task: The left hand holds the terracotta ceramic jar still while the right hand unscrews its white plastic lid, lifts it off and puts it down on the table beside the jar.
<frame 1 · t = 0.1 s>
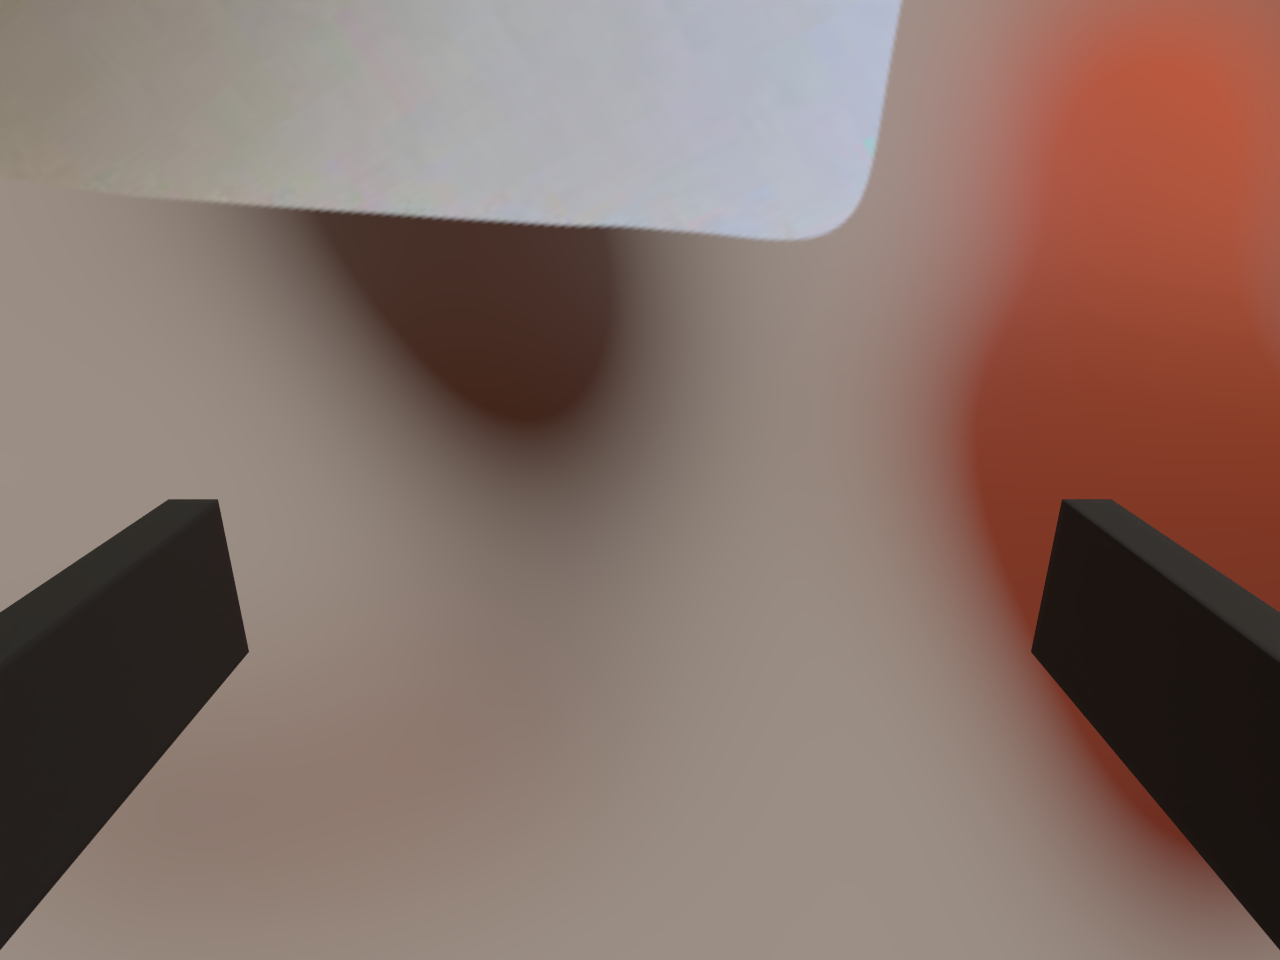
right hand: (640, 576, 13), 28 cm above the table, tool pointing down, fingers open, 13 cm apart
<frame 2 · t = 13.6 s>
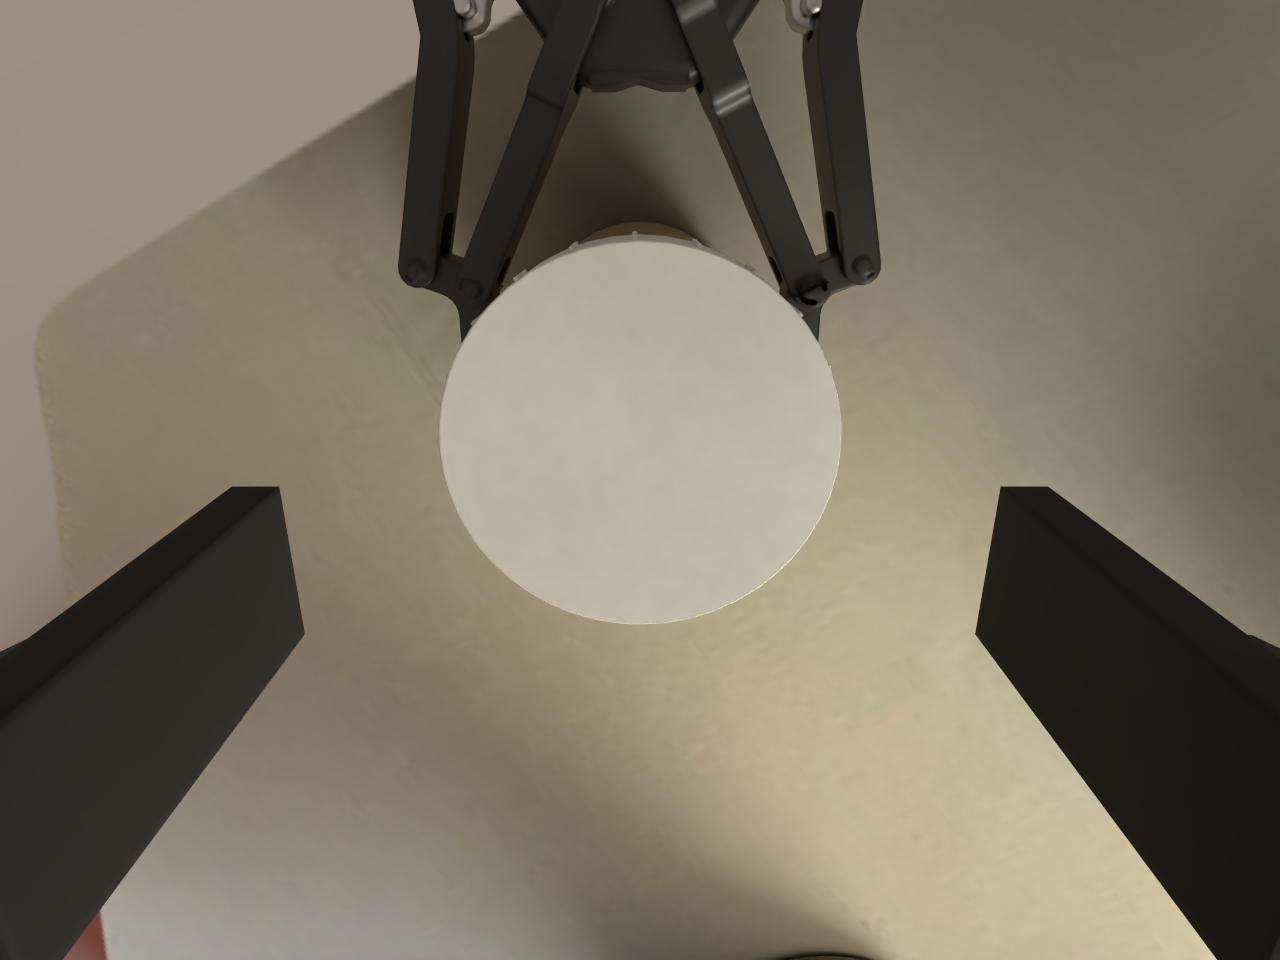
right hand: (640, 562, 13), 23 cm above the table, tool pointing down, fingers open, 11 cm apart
jar: (640, 324, 35), on the table, touching left hand
lid: (640, 445, 19), point 17 cm above the table, screwed on, not yet turned
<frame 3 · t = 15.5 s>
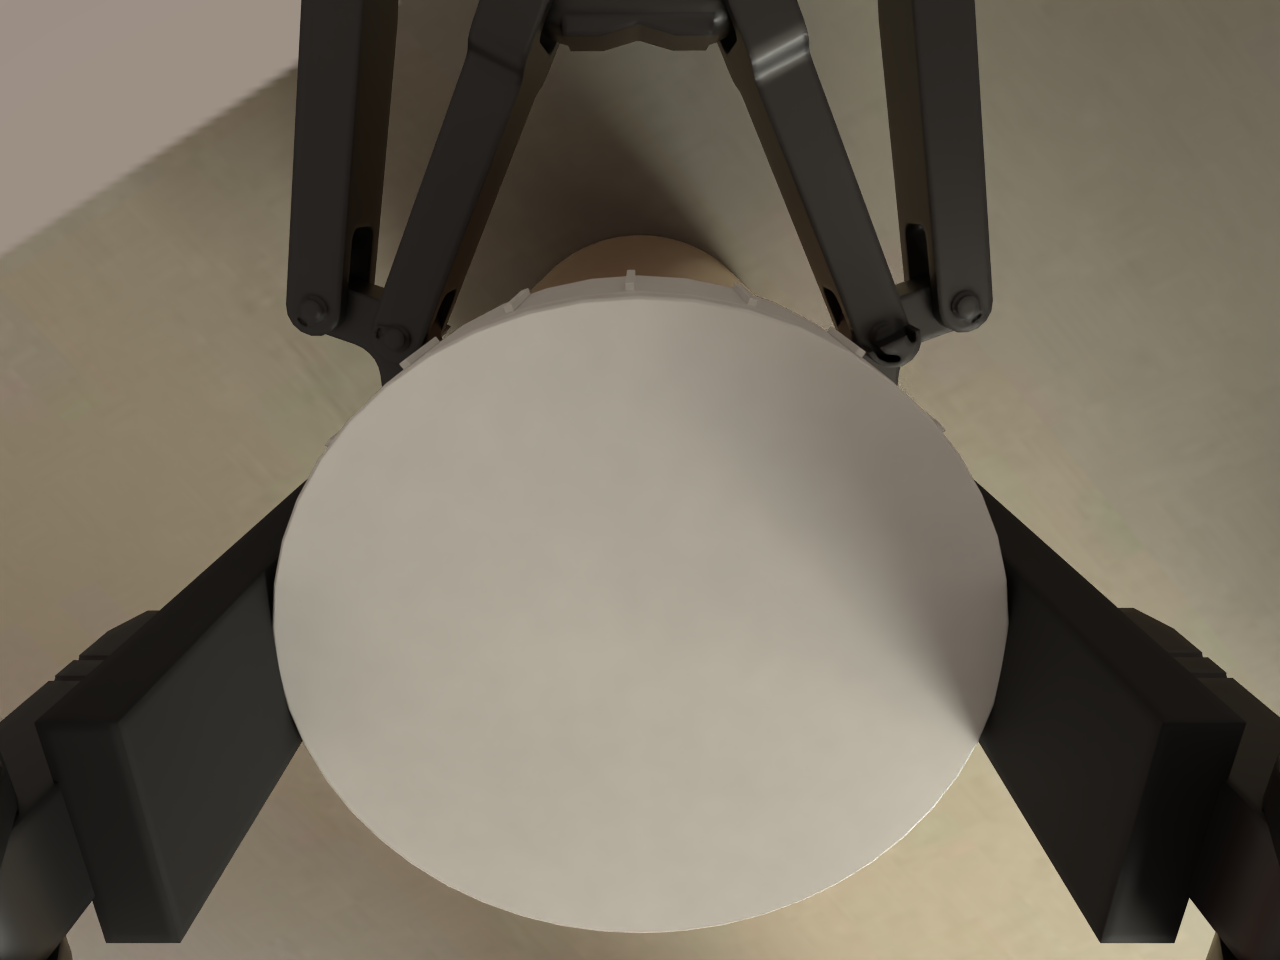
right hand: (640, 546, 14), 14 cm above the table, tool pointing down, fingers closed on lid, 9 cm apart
left hand: (641, 587, 22), fingers closed on jar, 9 cm apart
jar: (640, 369, 26), on the table, touching left hand
lid: (640, 652, 11), point 17 cm above the table, screwed on, not yet turned, touching right hand
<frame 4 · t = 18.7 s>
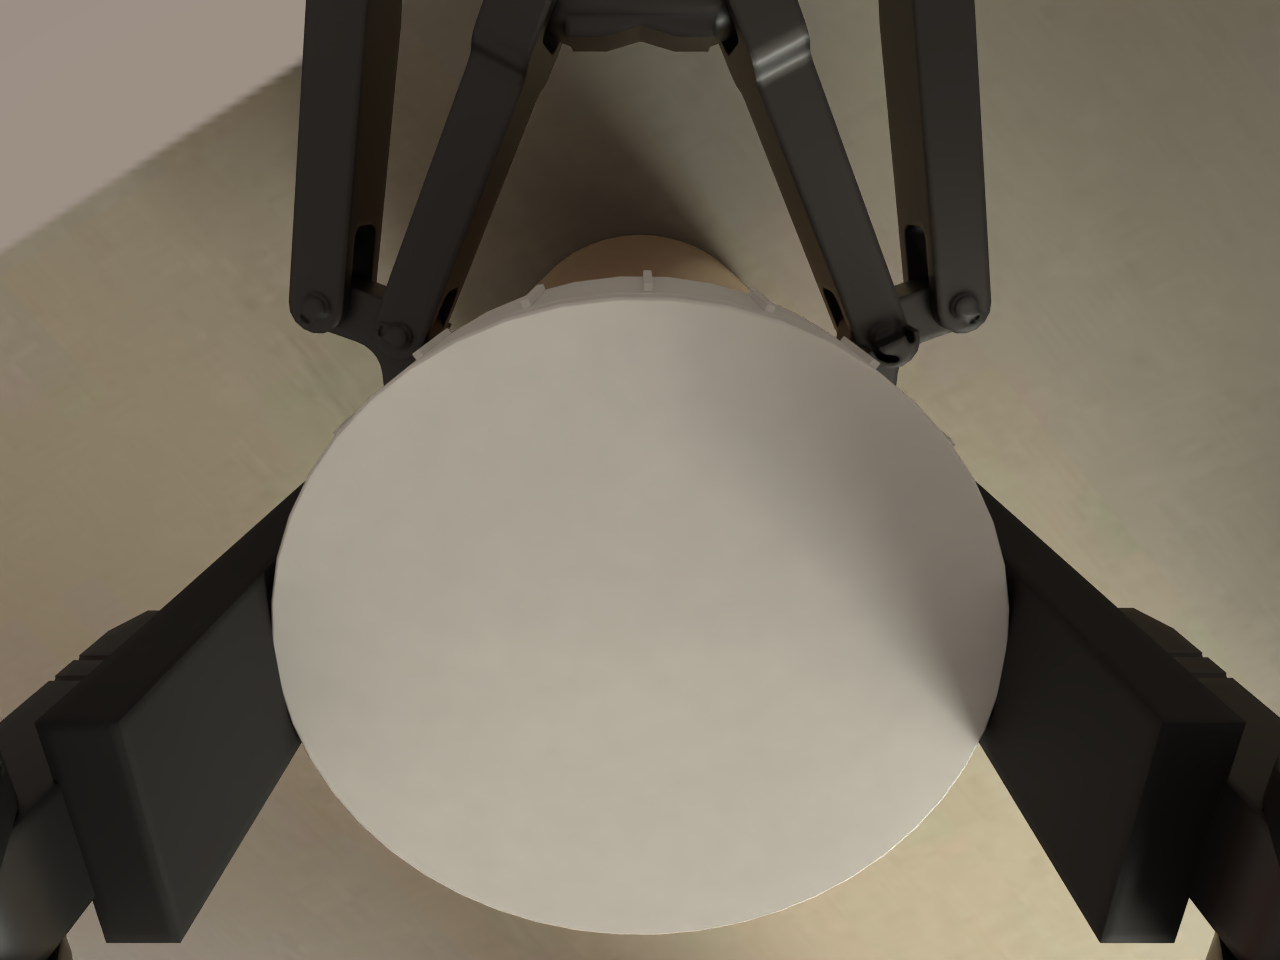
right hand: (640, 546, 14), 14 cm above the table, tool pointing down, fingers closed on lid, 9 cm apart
left hand: (640, 585, 22), fingers closed on jar, 9 cm apart
jar: (640, 368, 27), on the table, touching left hand
lid: (640, 653, 10), point 17 cm above the table, turned 101° so far, risen 0.1 cm, still on its thread, touching right hand
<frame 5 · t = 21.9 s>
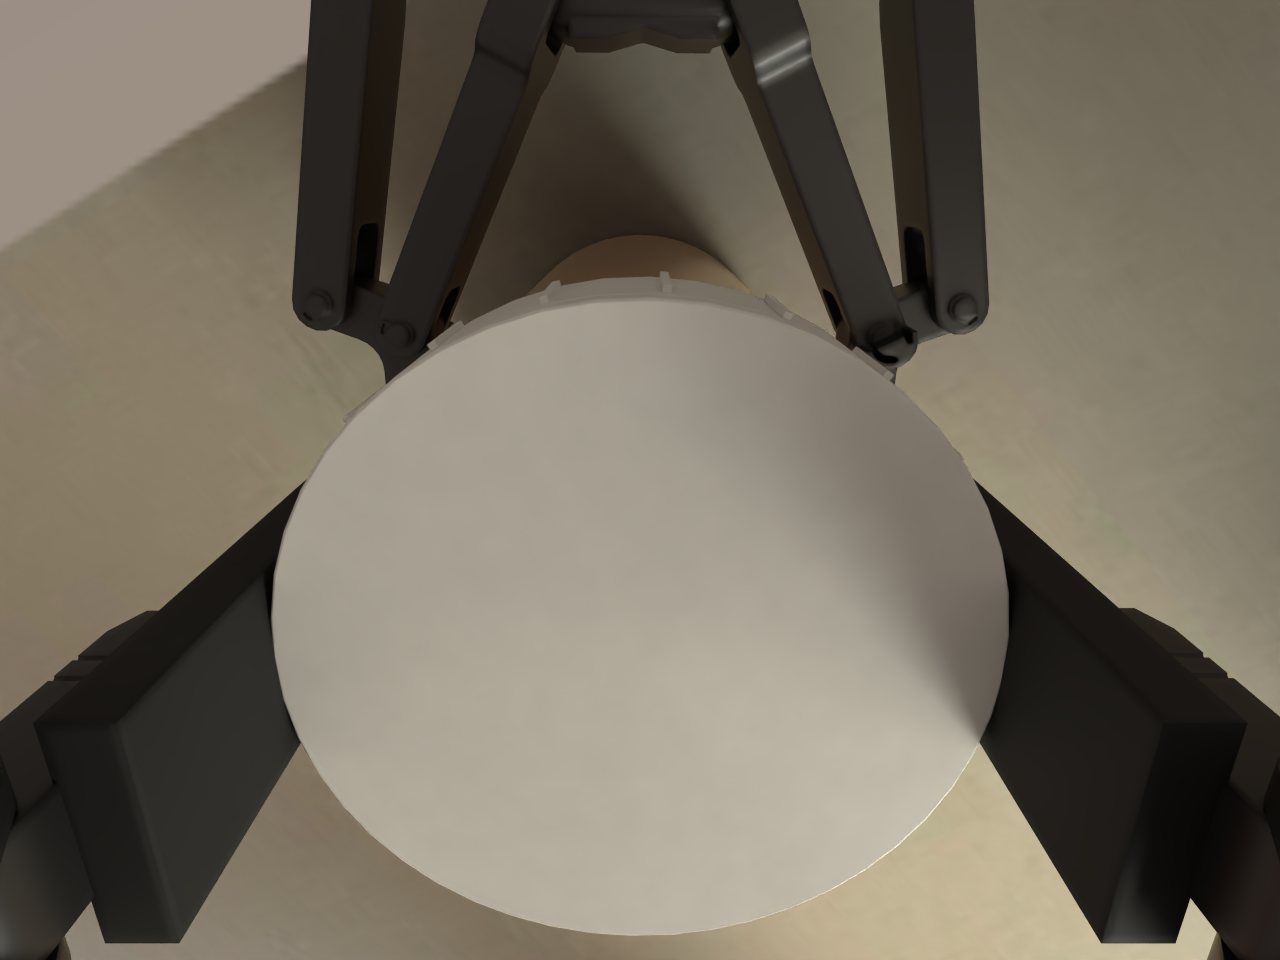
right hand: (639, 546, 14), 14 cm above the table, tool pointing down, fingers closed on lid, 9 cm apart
left hand: (639, 583, 22), fingers closed on jar, 9 cm apart
jar: (640, 368, 27), on the table, touching left hand
lid: (640, 654, 10), point 17 cm above the table, turned 201° so far, risen 0.3 cm, still on its thread, touching right hand
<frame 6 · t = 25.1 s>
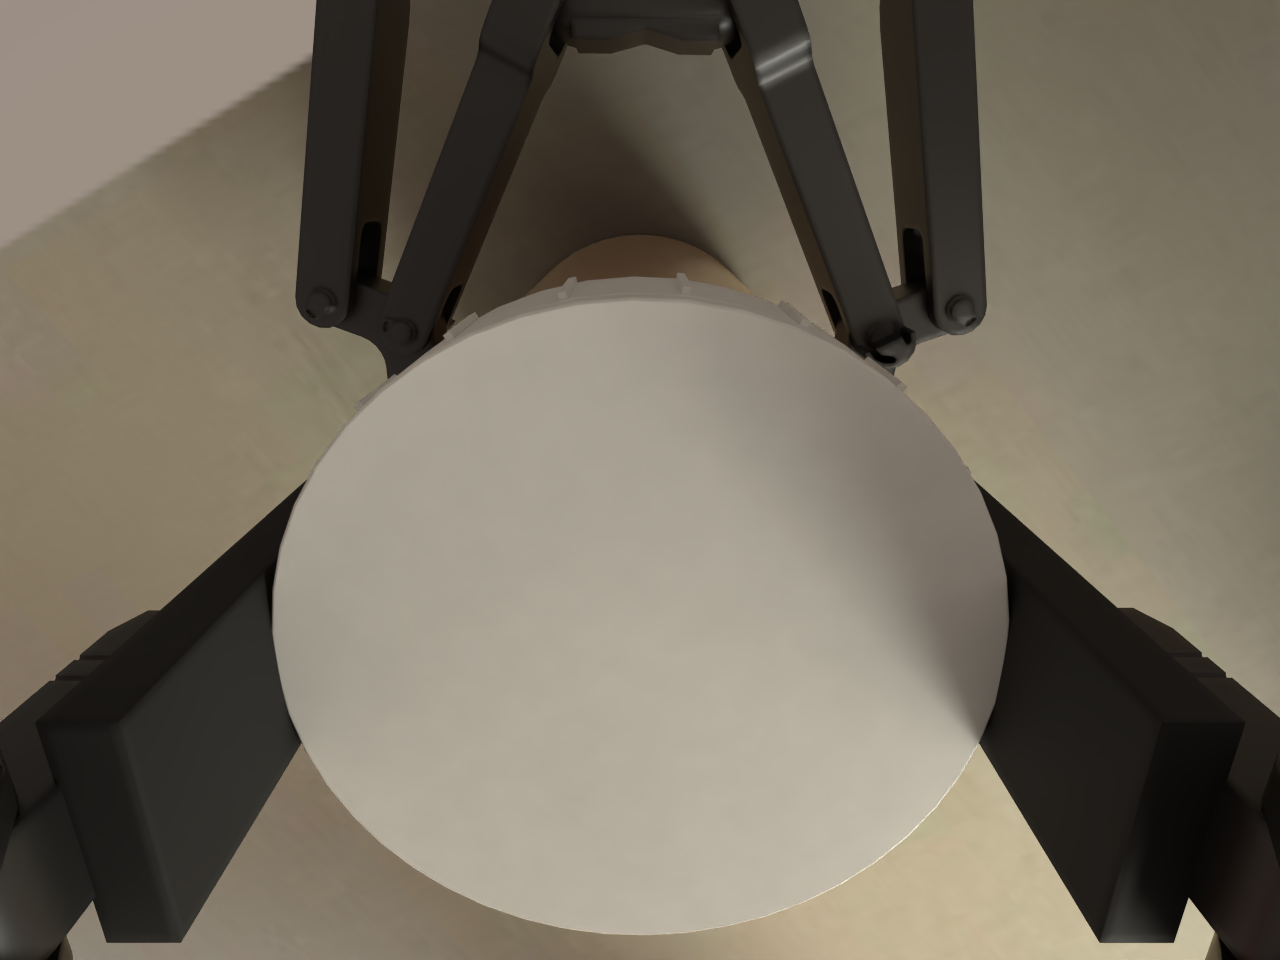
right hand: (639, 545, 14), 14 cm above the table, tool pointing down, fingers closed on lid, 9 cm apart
left hand: (638, 581, 22), fingers closed on jar, 9 cm apart
jar: (640, 367, 27), on the table, touching left hand
lid: (640, 653, 10), point 17 cm above the table, turned 302° so far, risen 0.4 cm, still on its thread, touching right hand
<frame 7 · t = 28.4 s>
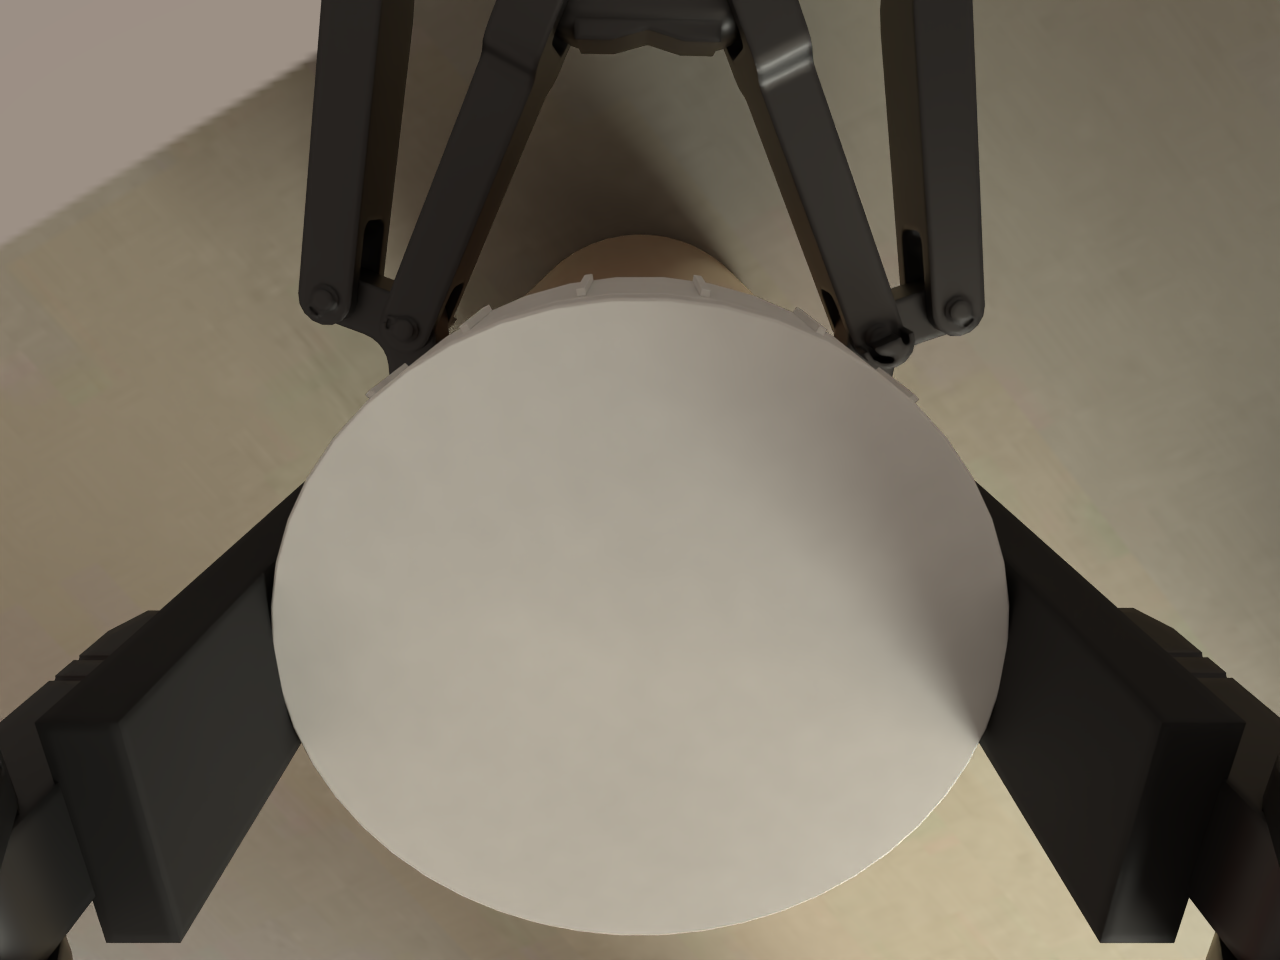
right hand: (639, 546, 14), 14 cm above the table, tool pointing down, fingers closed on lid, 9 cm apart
left hand: (637, 578, 22), fingers closed on jar, 9 cm apart
jar: (640, 366, 27), on the table, touching left hand
lid: (639, 654, 10), point 18 cm above the table, turned 402° so far, risen 0.6 cm, still on its thread, touching right hand
when the right hand's fingers open (0 cm above the table, at t = 34.2 s): lid drops 2 cm, point 2 cm above the table.
when the left hand's fingers open (7 cm above the table, at t = 35.9 s): jar stays where it is, on the table.
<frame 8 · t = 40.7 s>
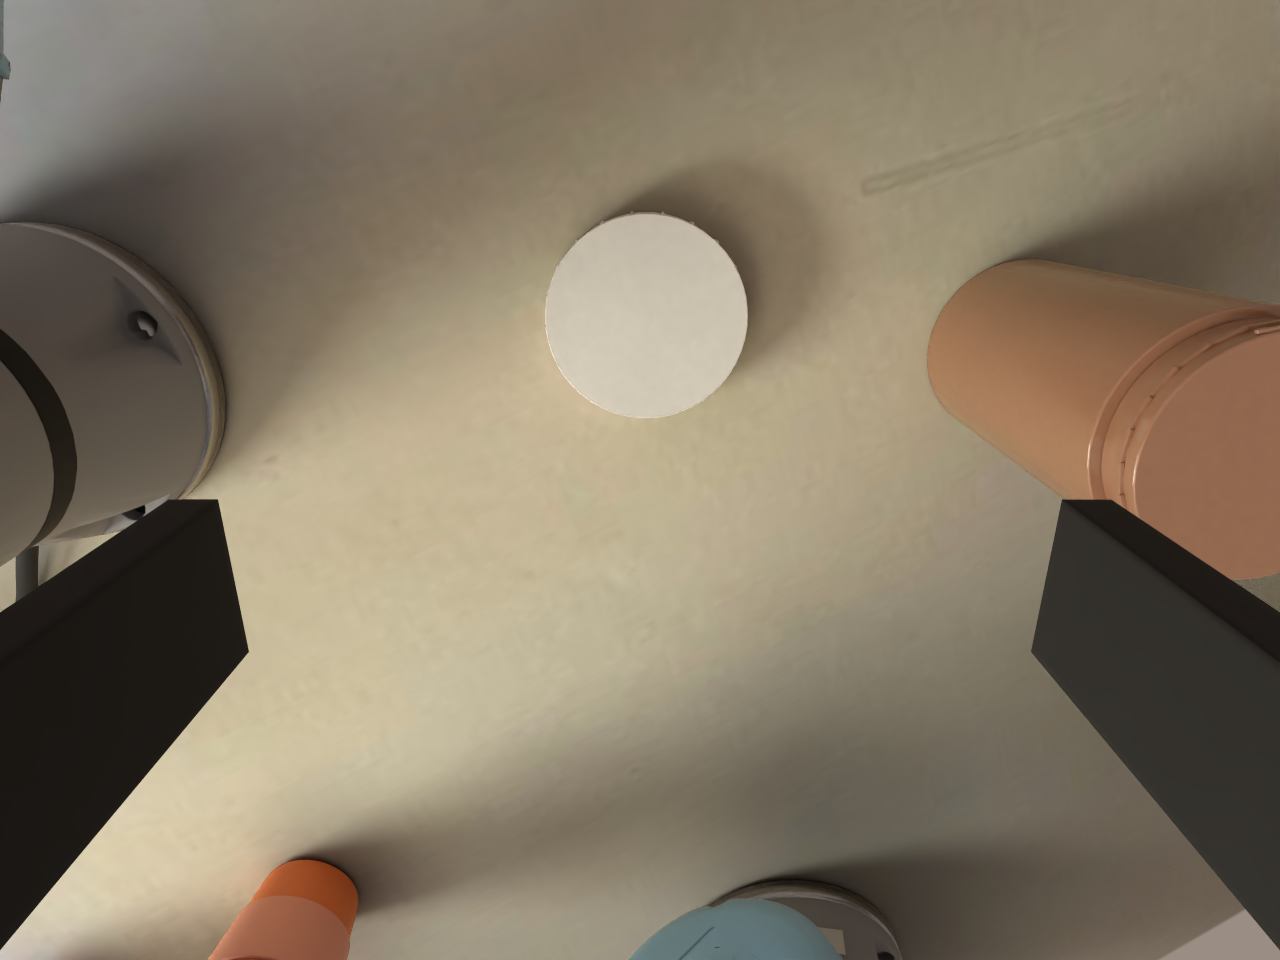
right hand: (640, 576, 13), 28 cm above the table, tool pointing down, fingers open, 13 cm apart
jar: (1014, 349, 39), on the table
lid: (646, 319, 37), point 2 cm above the table, off its thread
cup with straw: (313, 891, 52), on the table
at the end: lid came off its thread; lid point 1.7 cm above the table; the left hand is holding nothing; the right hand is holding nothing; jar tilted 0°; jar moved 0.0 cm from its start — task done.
